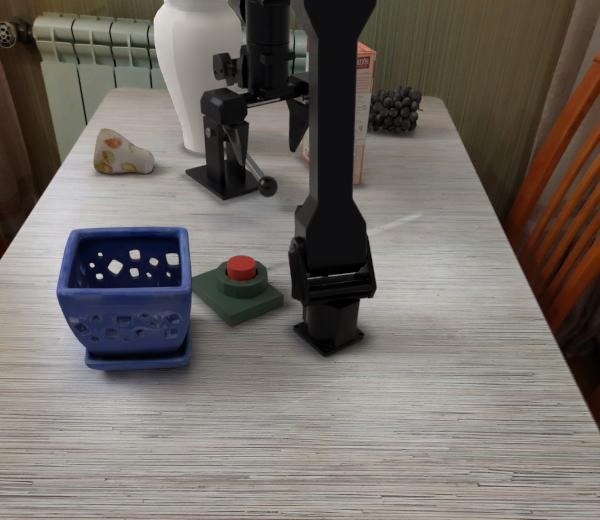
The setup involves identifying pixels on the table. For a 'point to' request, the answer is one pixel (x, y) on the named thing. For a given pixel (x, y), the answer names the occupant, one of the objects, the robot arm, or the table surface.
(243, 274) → the button
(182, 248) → the flower pot
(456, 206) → the table surface
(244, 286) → the control block
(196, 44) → the vase
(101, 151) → the white tapered piece
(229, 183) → the bracket
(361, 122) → the cracker box
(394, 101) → the fruit
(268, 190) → the lever
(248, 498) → the table surface
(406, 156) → the table surface
